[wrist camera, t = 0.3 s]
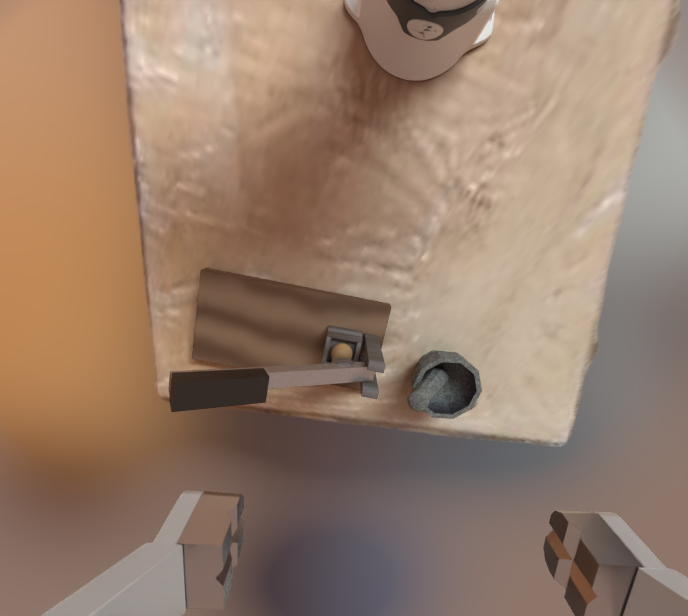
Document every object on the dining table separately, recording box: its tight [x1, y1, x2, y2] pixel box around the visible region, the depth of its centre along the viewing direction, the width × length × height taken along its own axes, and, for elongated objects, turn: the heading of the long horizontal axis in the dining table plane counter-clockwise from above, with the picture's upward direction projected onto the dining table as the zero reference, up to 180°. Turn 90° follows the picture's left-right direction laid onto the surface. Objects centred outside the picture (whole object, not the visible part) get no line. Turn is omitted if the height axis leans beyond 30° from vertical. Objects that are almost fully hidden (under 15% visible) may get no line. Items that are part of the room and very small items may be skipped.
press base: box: [192, 268, 391, 399], centre depth 51 cm, size 14×28×13 cm, turn 79°
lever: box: [169, 357, 375, 412], centre depth 42 cm, size 3×24×4 cm, turn 79°
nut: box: [331, 343, 352, 359], centre depth 52 cm, size 3×3×3 cm
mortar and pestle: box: [407, 351, 482, 419], centre depth 53 cm, size 11×9×12 cm
